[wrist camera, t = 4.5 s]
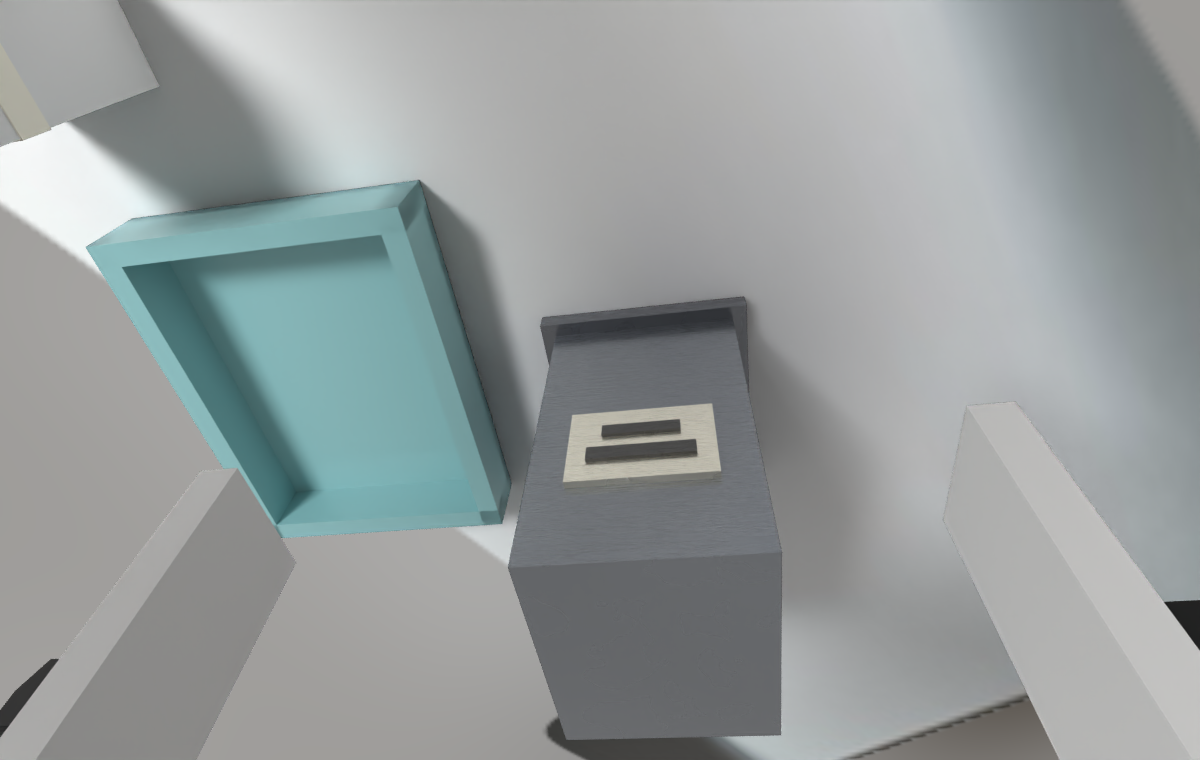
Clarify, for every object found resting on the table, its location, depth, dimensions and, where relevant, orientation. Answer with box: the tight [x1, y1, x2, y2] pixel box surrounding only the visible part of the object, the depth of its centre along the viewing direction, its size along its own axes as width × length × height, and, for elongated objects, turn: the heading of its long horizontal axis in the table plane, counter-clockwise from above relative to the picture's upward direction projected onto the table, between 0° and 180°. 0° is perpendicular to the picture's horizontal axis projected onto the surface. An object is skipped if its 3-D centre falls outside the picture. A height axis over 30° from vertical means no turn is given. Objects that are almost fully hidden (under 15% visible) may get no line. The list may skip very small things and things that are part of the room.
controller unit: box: [508, 297, 782, 740], centre depth 28 cm, size 11×9×14 cm
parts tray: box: [86, 180, 512, 538], centre depth 32 cm, size 17×13×3 cm
